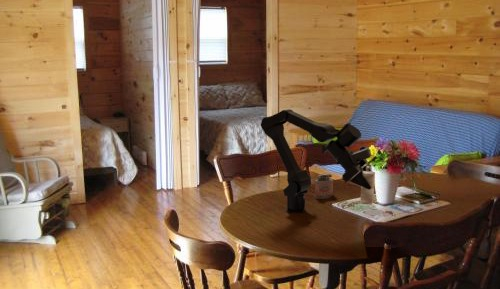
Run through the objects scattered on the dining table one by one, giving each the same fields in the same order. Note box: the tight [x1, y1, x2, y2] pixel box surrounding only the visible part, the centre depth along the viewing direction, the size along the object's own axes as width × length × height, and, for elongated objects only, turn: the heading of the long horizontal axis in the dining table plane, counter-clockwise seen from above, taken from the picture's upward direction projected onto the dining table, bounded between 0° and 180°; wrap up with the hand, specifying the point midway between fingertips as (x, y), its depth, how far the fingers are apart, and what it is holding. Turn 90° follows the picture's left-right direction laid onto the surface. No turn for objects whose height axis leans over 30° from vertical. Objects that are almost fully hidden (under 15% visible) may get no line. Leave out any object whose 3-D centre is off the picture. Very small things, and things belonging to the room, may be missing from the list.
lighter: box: [314, 173, 334, 200], centre depth 224 cm, size 8×3×10 cm, turn 105°
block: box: [359, 170, 376, 206], centre depth 189 cm, size 4×4×11 cm
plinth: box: [363, 208, 383, 216], centre depth 201 cm, size 6×6×1 cm
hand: (371, 187), depth 189 cm, fingers closed on block, 4 cm apart
